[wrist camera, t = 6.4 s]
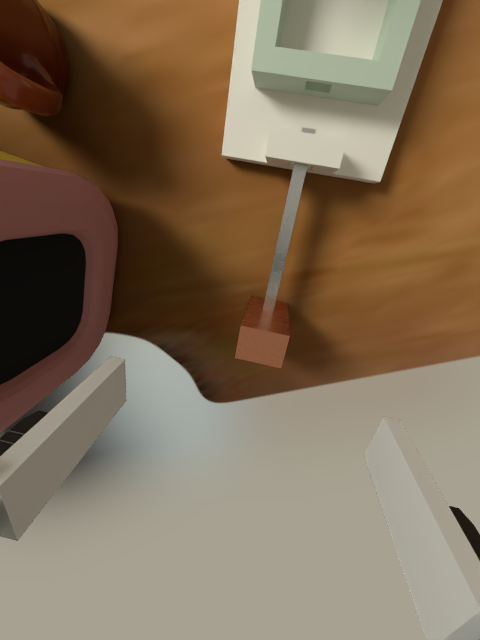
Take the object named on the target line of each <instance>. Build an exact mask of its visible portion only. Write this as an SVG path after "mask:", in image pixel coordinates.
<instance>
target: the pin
mask: <svg viewBox="0 0 480 640" xmlns="http://www.w3.org/2000/svg"><path fill="white" fill-rule="evenodd" d="M301 132H305V133H311V134H315V132H316V129H311V128H304V127H302V130H301ZM307 166H308V165H306V164H300V163H294V167H293V172H292V177H291V181H290V186H289V190H288V195H287V200H286V204H285V209H284V214H283V218H282V223H281V227H280V232H279V237H278V241H277V246H276V250H275V255H274V260H273V264H272V269H271V274H270V278H269V283H268V287H267V292H266V297H265V298H260V297H255V296H251V298H250V300H249V303H248V306H247V309H246V312H245V315H244V317H243V320H242V323H241V326H240V332H239V337H238V343H237V348H236V354H235V358H237V359H241V360H246V361H250V362H255V363H259V364H264V365H268V366H273V367H277V368H281V367H282V363H283V360H284V356H285V352H286V349H287V345H288V342H289V338H290V327H289V311H288V303H285V302H280V301H276V297H277V293H278V289H279V285H280V280H281V276H282V272H283V268H284V263H285V259H286V255H287V251H288V246H289V242H290V238H291V234H292V229H293V225H294V221H295V217H296V212H297V208H298V204H299V200H300V195H301V191H302V187H303V183H304V178H305V174H306V170H307Z"/></svg>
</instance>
